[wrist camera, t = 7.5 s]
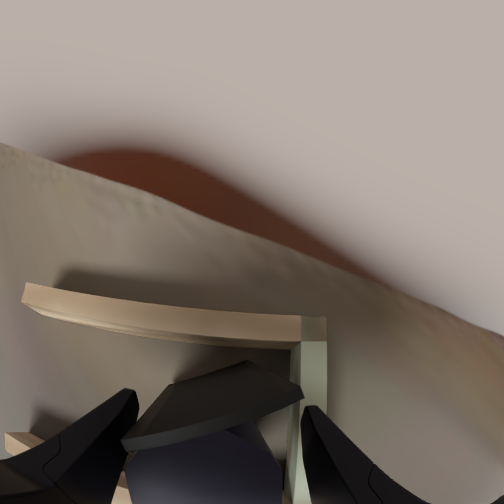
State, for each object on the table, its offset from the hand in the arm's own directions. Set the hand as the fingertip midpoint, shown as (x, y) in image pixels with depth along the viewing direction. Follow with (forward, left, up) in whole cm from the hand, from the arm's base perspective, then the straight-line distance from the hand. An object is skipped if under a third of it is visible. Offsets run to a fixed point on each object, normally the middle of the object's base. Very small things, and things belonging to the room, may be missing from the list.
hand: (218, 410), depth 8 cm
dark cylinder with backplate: (-2, 0, -8) cm, 8 cm away
